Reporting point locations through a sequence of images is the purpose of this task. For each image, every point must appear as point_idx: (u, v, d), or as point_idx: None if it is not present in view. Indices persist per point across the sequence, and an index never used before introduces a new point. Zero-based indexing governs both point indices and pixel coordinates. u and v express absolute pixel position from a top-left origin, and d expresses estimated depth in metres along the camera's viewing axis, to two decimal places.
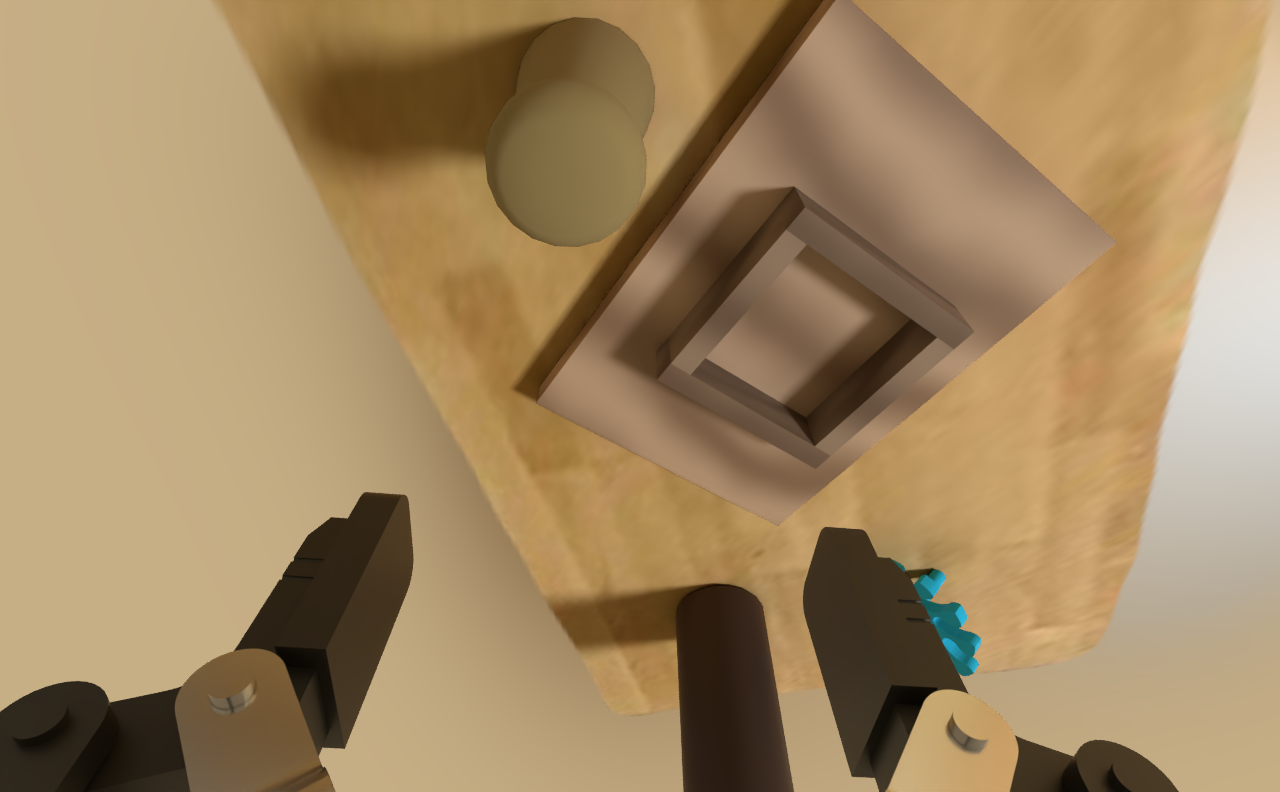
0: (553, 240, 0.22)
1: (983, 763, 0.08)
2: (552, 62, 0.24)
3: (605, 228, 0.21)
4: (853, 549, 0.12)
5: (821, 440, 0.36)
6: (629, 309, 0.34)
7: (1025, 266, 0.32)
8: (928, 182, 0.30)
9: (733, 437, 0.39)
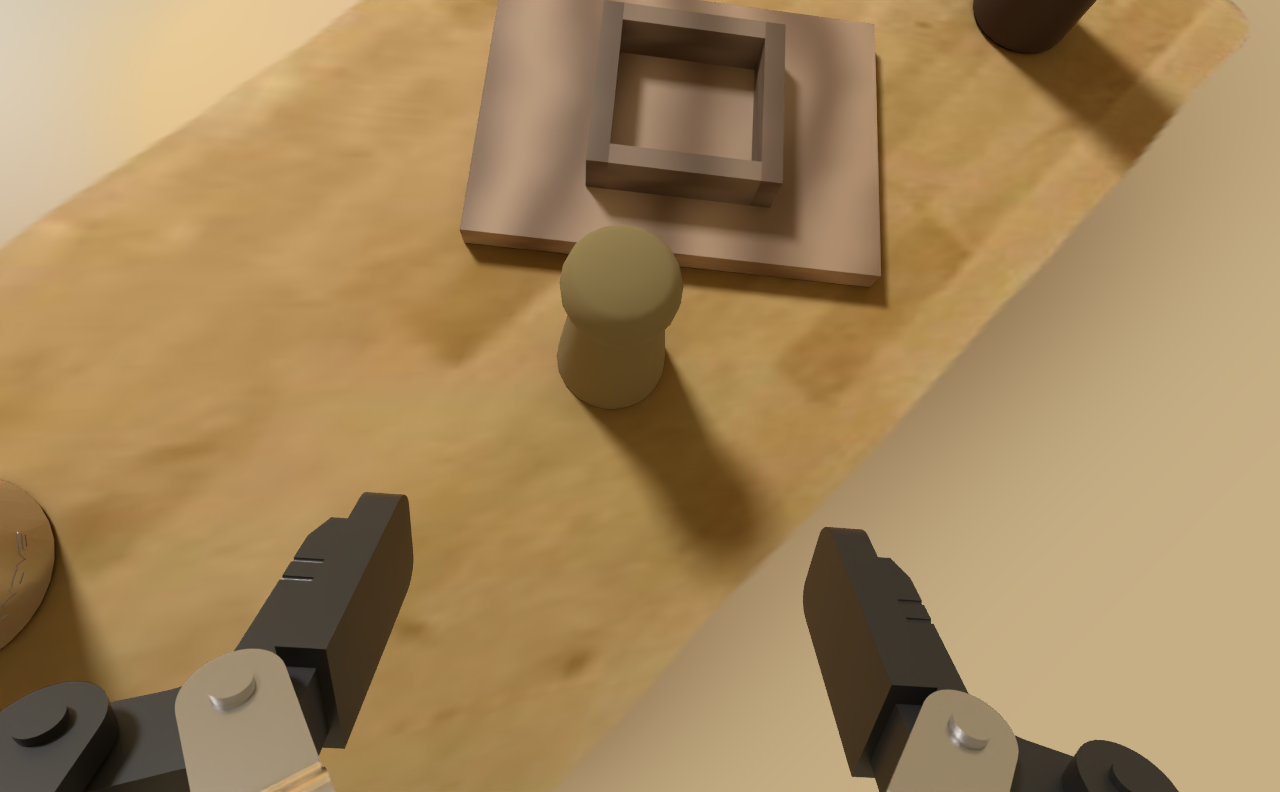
0: (670, 260, 0.27)
1: (983, 763, 0.08)
2: (583, 358, 0.32)
3: (641, 231, 0.27)
4: (853, 549, 0.12)
5: (756, 37, 0.39)
6: (745, 245, 0.38)
7: (550, 12, 0.41)
8: (534, 107, 0.39)
9: (809, 109, 0.41)
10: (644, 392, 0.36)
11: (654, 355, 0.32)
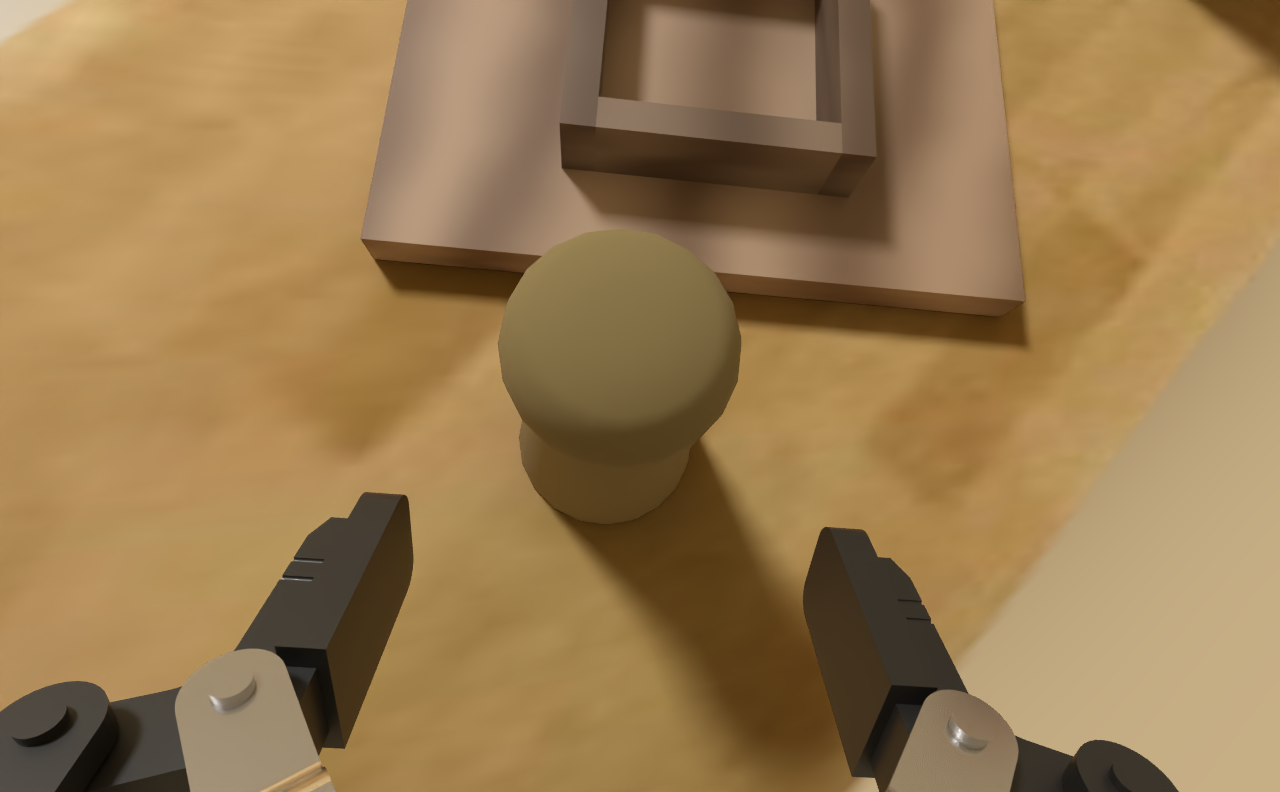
0: (719, 299, 0.13)
1: (982, 763, 0.08)
2: (555, 465, 0.18)
3: (658, 241, 0.14)
4: (853, 549, 0.12)
5: None
6: (813, 256, 0.24)
7: None
8: (482, 49, 0.25)
9: (898, 49, 0.27)
10: (659, 499, 0.22)
11: (679, 454, 0.19)
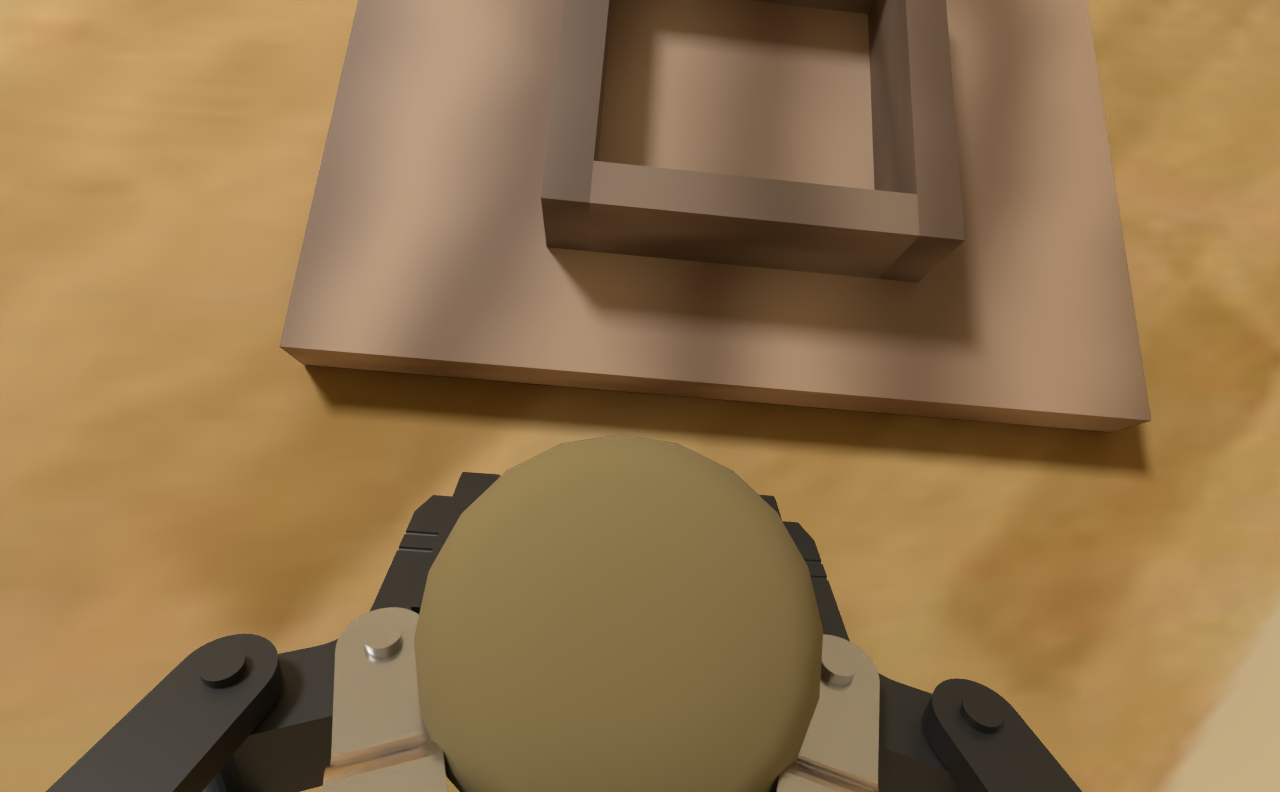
0: (790, 582, 0.08)
1: (843, 697, 0.09)
2: None
3: (684, 474, 0.08)
4: None
5: None
6: (875, 363, 0.19)
7: None
8: (446, 90, 0.20)
9: (975, 87, 0.21)
10: None
11: None
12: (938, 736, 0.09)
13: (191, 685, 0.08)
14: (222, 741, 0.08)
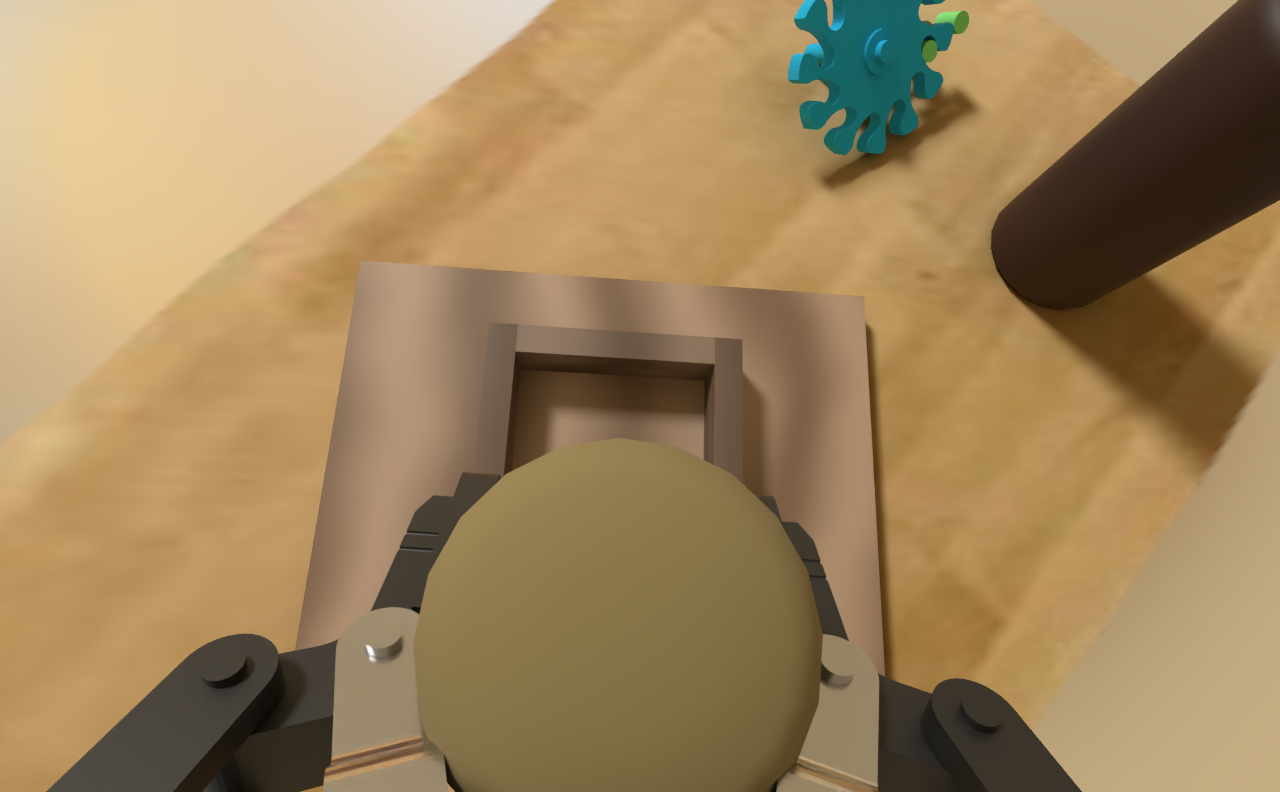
0: (789, 586, 0.08)
1: (842, 697, 0.09)
2: None
3: (683, 478, 0.08)
4: None
5: (702, 362, 0.28)
6: None
7: (425, 315, 0.30)
8: (400, 468, 0.28)
9: (780, 436, 0.30)
10: None
11: None
12: (937, 736, 0.09)
13: (192, 685, 0.08)
14: (223, 741, 0.08)
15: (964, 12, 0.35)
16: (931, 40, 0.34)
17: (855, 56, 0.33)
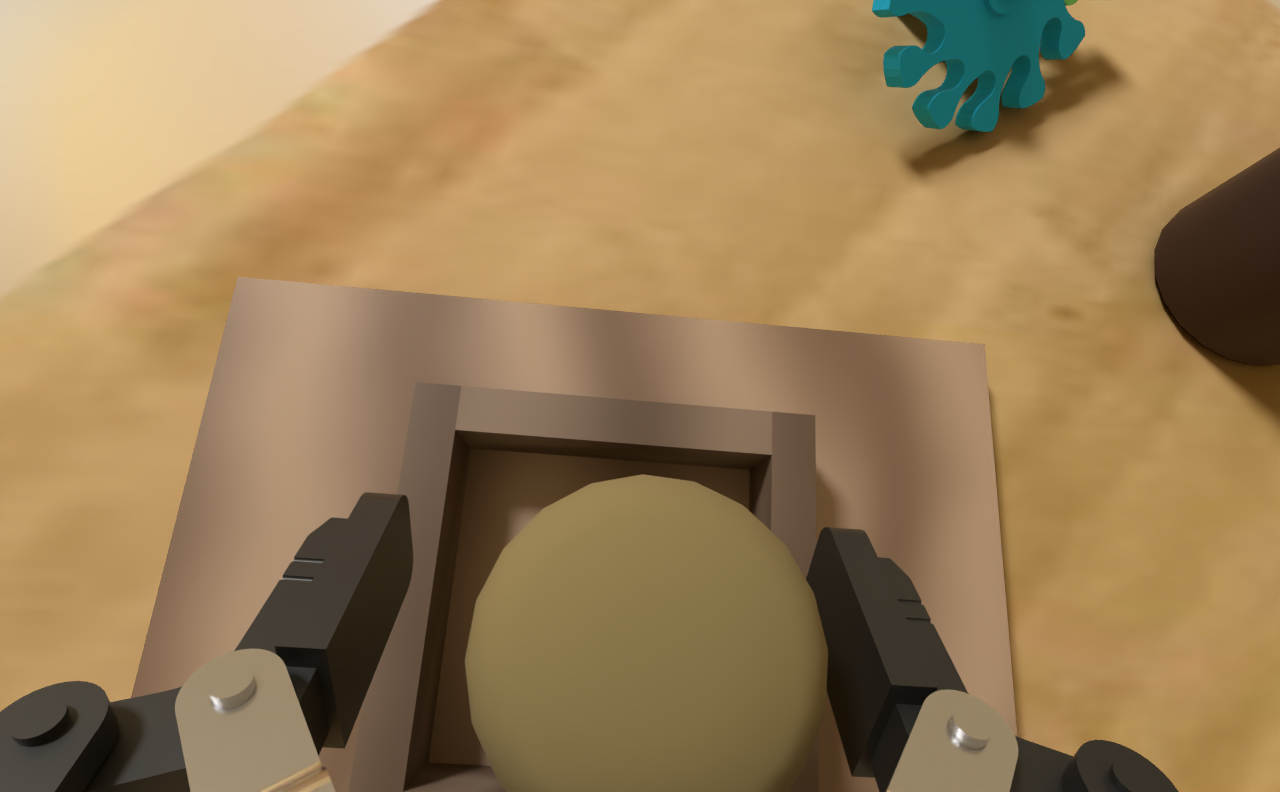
0: (798, 609, 0.09)
1: (983, 763, 0.08)
2: None
3: (703, 513, 0.09)
4: (853, 549, 0.12)
5: (753, 452, 0.18)
6: None
7: (329, 362, 0.20)
8: None
9: None
10: None
11: None
12: (1077, 791, 0.08)
13: (2, 750, 0.07)
14: None
15: None
16: None
17: None
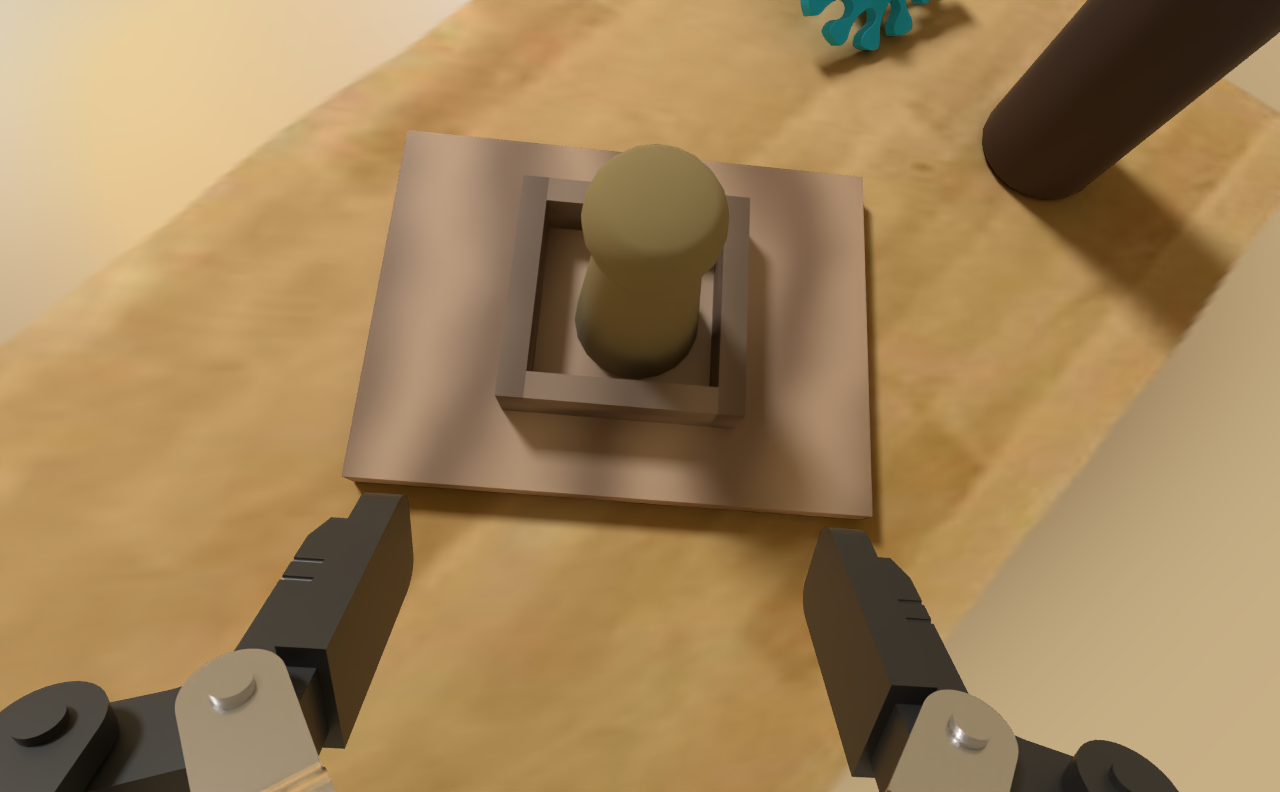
0: (715, 184, 0.22)
1: (983, 763, 0.08)
2: (608, 315, 0.27)
3: (678, 150, 0.23)
4: (853, 549, 0.12)
5: None
6: (702, 481, 0.30)
7: (464, 178, 0.34)
8: (441, 306, 0.32)
9: (782, 293, 0.33)
10: (676, 358, 0.31)
11: (691, 310, 0.27)
12: (1077, 791, 0.08)
13: (2, 750, 0.07)
14: None
15: None
16: None
17: None
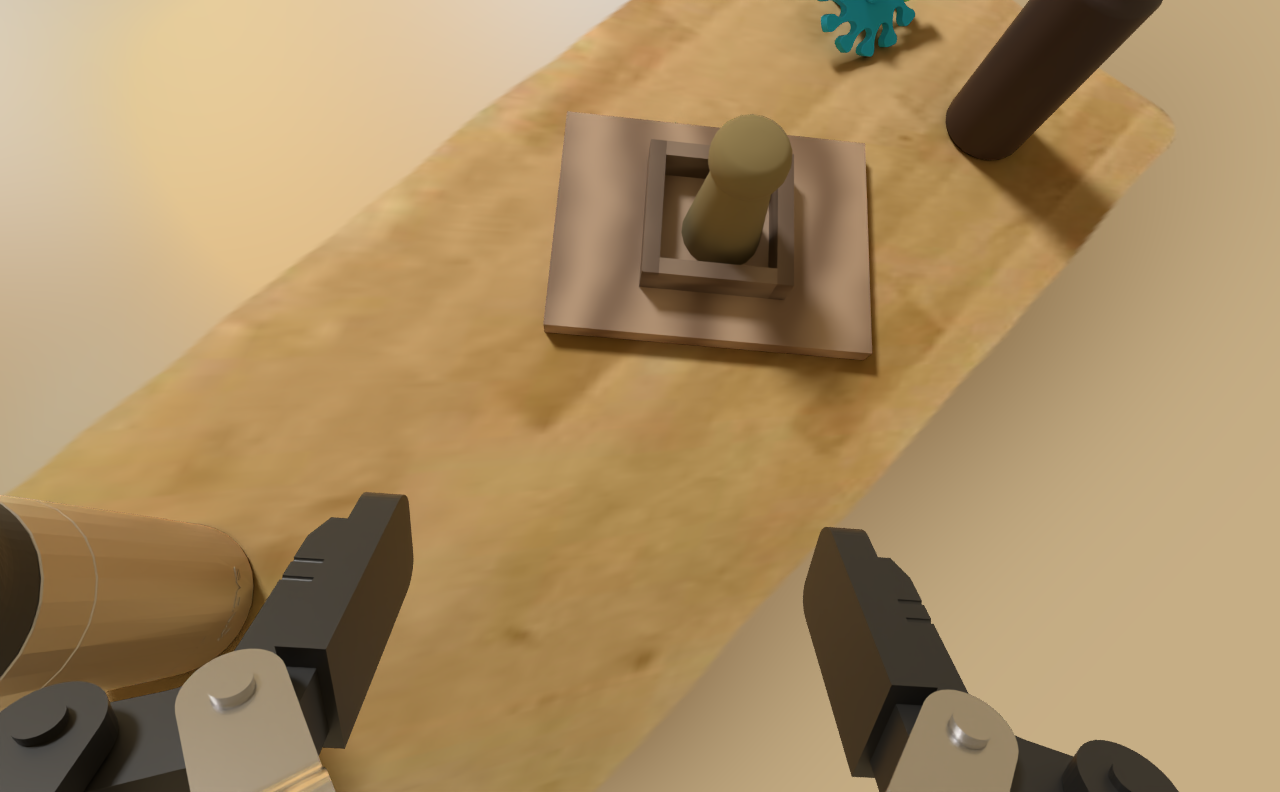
0: (785, 136, 0.40)
1: (983, 763, 0.08)
2: (713, 219, 0.45)
3: (764, 117, 0.41)
4: (853, 549, 0.12)
5: None
6: (765, 331, 0.48)
7: (605, 143, 0.52)
8: (596, 223, 0.50)
9: (813, 217, 0.51)
10: (748, 254, 0.49)
11: (762, 217, 0.45)
12: (1077, 791, 0.08)
13: (2, 750, 0.07)
14: None
15: None
16: None
17: None
